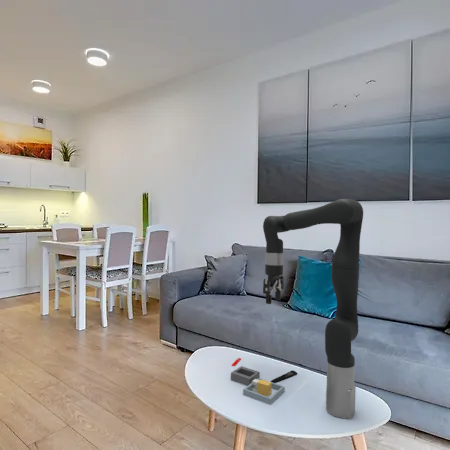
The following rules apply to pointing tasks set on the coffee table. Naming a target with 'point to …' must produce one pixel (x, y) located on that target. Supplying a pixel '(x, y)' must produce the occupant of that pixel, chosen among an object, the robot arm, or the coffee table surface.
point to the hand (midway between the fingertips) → (273, 301)
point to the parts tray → (263, 398)
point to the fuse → (262, 387)
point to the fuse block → (244, 375)
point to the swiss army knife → (236, 362)
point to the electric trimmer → (284, 377)
